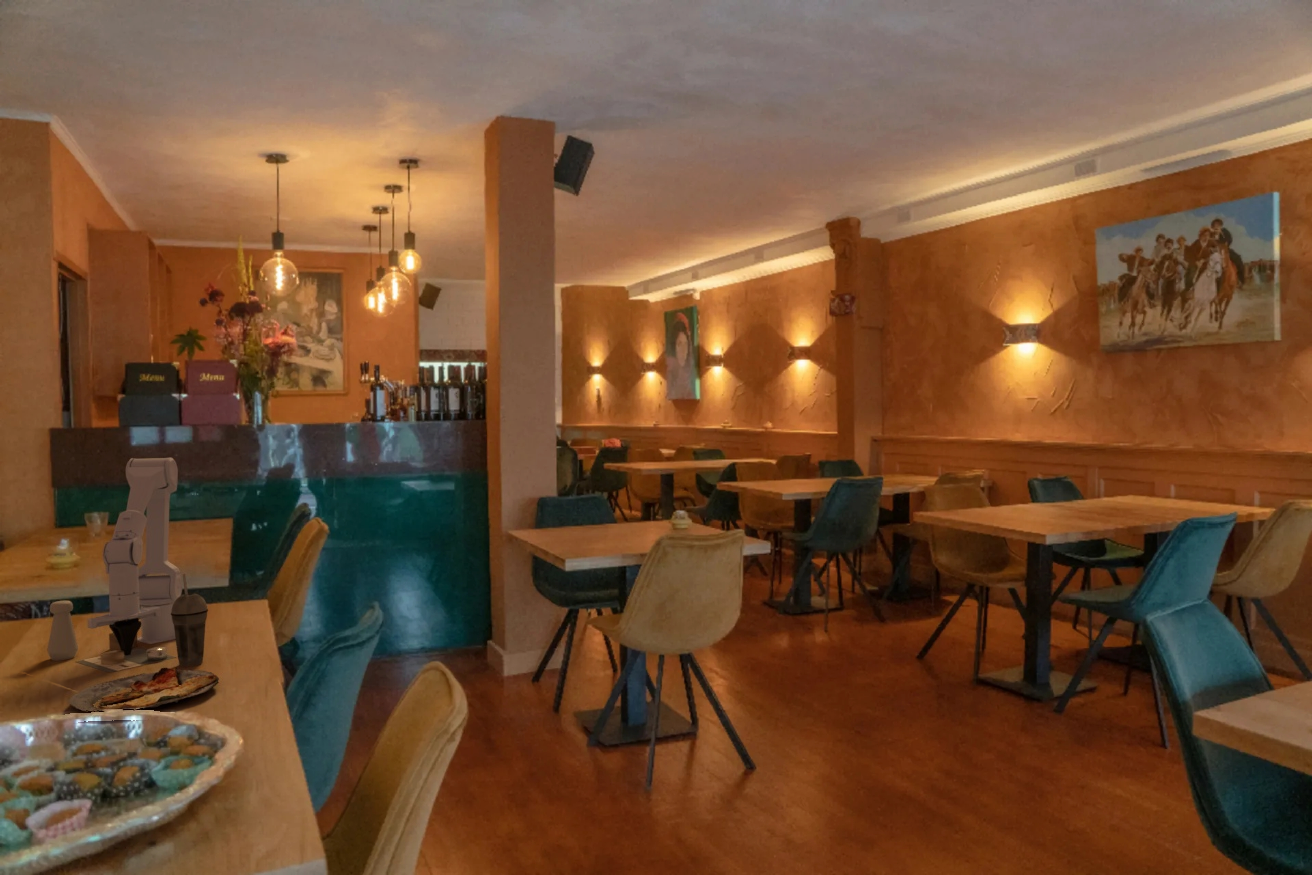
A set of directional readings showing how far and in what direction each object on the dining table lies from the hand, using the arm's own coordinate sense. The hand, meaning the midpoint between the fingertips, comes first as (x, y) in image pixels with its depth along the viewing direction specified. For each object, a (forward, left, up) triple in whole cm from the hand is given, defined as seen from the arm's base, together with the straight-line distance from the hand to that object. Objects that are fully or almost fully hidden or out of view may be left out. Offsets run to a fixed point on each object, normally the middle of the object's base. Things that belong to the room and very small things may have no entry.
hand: (126, 654), depth 203 cm
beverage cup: (-6, +16, -2) cm, 17 cm away
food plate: (+11, +32, -2) cm, 34 cm away
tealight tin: (-4, +5, -1) cm, 7 cm away
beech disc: (+3, 0, -1) cm, 3 cm away
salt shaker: (+7, -14, -2) cm, 16 cm away
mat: (0, 0, -1) cm, 1 cm away
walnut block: (-5, -12, -2) cm, 13 cm away
